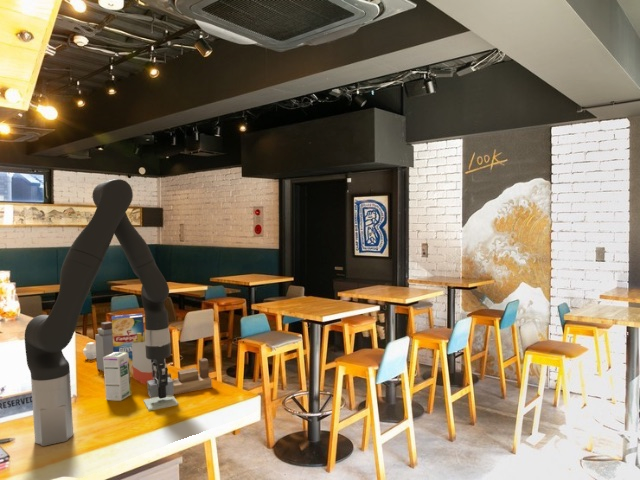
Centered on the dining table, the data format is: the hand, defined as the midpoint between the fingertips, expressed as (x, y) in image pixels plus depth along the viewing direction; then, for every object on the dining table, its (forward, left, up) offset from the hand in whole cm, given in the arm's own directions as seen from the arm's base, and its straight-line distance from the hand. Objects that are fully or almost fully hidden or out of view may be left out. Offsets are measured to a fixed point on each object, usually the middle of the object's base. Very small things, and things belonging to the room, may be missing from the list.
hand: (160, 394), depth 161 cm
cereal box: (+37, +4, -3) cm, 37 cm away
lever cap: (0, 0, 0) cm, 0 cm away
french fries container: (+25, -1, -3) cm, 25 cm away
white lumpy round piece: (+69, +15, -3) cm, 71 cm away
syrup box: (+13, +11, -3) cm, 17 cm away
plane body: (+9, -10, -3) cm, 14 cm away
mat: (0, 0, -3) cm, 3 cm away
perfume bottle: (+50, +10, -3) cm, 51 cm away
